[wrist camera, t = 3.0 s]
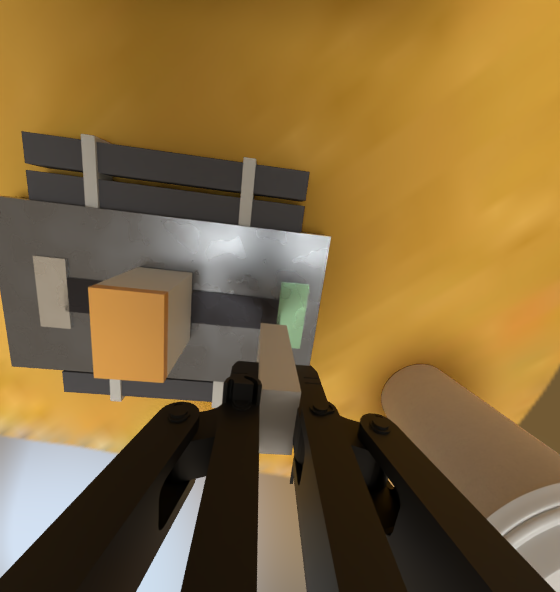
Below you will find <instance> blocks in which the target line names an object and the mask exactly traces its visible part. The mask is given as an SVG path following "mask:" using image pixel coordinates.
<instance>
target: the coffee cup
mask: <svg viewBox="0 0 560 592" xmlns="http://www.w3.org/2000/svg"><path fill="white" fill-rule="evenodd" d="M381 403H382V407H383V410H384V412H385V414H386V416H387V418H388V419H390V420H391V421H392V422H394V423H395V424H396V425H397V426H398V427H399V428H400V429H401V430H402V431H403V432H404V433H405V434H406V436H407V437H408V438H409V439H410V440H411V441H412V442H413V443H414V444H415V445H416V446H417V447H418V448H419V449H420V450H421V451H422V452H423V453H424V454H425V455H426V456H427V457H428V459H429V460H430V461H431V462H432V463H433V464H434V465H435V466H436V467H437V468H438V469H439V470H440V471H441V472H442V473H443V474H444V475H445V476H446V477H447V478H448V479H449V480H450V481H451V483H452V484H453V485H454V486H455V487H456V488H457V489H458V490H459V491H460V492H461V493H462V494H463V495H464V496H465V497H466V498H467V499H468V500H469V501H470V502H471V503H472V504H473V505H474V507H475V508H476V509H477V510H478V511H479V512H480V513H481V514H482V515H483V516H484V517H485V518H486V519H487V520H488V521H489V522H490V523H491V524H492V525H493V526H494V527H495V528H496V529H497V531H498V532H499V533H500V534H501V535H502V536H503V537H504V538H505V539H506V540H507V541H508V542H509V543H510V544H511V545H512V546H513V547H514V548H515V549H516V550H517V551H518V552H519V554H520V555H521V556H522V557H523V558H524V559H525V560H526V561H527V562H528V563H529V564H530V565H531V566H532V567H533V568H534V569H535V570H536V571H537V572H538V573H539V574H540V575H541V576H542V578H543V579H544V580H545V581H546V582H547V583H548V584H549V585H550V586H551V587H552V588H553V589H554V590H555V591H556V592H560V454H558V453H556V452H555V451H554V450H552V449H551V448H550V447H548V446H547V445H545V444H544V443H542V442H541V441H540V440H538V439H537V438H535V437H534V436H532V435H531V434H529V433H528V432H527V431H525V430H524V429H522V428H521V427H520V426H518V425H517V424H515V423H514V422H513V421H511V420H510V419H508V418H507V417H506V416H504V415H503V414H501V413H500V412H498V411H497V410H496V409H494V408H493V407H491V406H490V405H489V404H487V403H486V402H484V401H483V400H481V399H480V398H479V397H477V396H476V395H474V394H473V393H472V392H470V391H469V390H467V389H466V388H465V387H463V386H462V385H460V384H459V383H457V382H456V381H455V380H453V379H452V378H450V377H449V376H448V375H446V374H445V373H443V372H442V371H441V370H439V369H437V368H436V367H433V366H430V365H425V364H416V365H411V366H408V367H405V368H403V369H401V370H399V371H398V372H396V373H395V374H394V375H393V376H392V377H391V378H390V379H389V380H388V381H387V383H386V384H385V386H384V388H383V391H382V395H381Z"/></svg>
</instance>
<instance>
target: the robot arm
mask: <svg viewBox="0 0 560 592" xmlns="http://www.w3.org/2000/svg"><path fill="white" fill-rule="evenodd" d="M293 447H294V459H293V465H292V472H291V478H290V484H293V480H294V484H295V492H296V502H297V510H298V519H299V528H300V537H301V545H302V553H303V562H304V571H305V580H306V589H307V592H556V591H555V590H554V589H553V588H552V587H551V586H550V585H549V584H548V583H547V582H546V581H545V580H544V579H543V578H542V576H541V575H540V574H539V573H538V572H537V571H536V570H535V569H534V568H533V567H532V566H531V565H530V564H529V563H528V562H527V561H526V560H525V559H524V558H523V557H522V556H521V555H520V554H519V552H518V551H517V550H516V549H515V548H514V547H513V546H512V545H511V544H510V543H509V542H508V541H507V540H506V539H505V538H504V537H503V536H502V535H501V534H500V533H499V532H498V531H497V529H496V528H495V527H494V526H493V525H492V524H491V523H490V522H489V521H488V520H487V519H486V518H485V517H484V516H483V515H482V514H481V513H480V512H479V511H478V510H477V509H476V508H475V507H474V505H473V504H472V503H471V502H470V501H469V500H468V499H467V498H466V497H465V496H464V495H463V494H462V493H461V492H460V491H459V490H458V489H457V488H456V487H455V486H454V485H453V484H452V483H451V481H450V480H449V479H448V478H447V477H446V476H445V475H444V474H443V473H442V472H441V471H440V470H439V469H438V468H437V467H436V466H435V465H434V464H433V463H432V462H431V461H430V460H429V459H428V457H427V456H426V455H425V454H424V453H423V452H422V451H421V450H420V449H419V448H418V447H417V446H416V445H415V444H414V443H413V442H412V441H411V440H410V439H409V438H408V437H407V436H406V434H405V433H404V432H403V431H402V430H401V429H400V428H399V427H398V426H397V425H396V424H395V423H394V422H392V421H391V420H390V419H388V418H386V417H384V416H382V415H379V414H365V415H363V416H362V417H361V419H360V422H356V421H353V420H350V419H347V418H344V417H342V416H340V415H339V413H338V410H337V409H336V407H335V406H334V405H333V404H331V403H330V402H328V401H327V399H326V396H325V393H324V390H323V387H322V385H321V382H320V379H319V376H318V373H317V371H316V370H315V369H314V368H313V367H312V366H307V365H295V361H294V357H293V352H292V348H291V343H290V339H289V334H288V330H287V325H277V324H267V323H261V327H260V336H259V345H258V354H257V362H248V361H237V362H236V363H235V364H234V365H233V366H232V370H231V374H230V377H228V378H226V380H225V382H224V390H223V403H222V404H221V405H220V406H218V407H217V408H215V409H212V410H208V411H203V412H199V409H198V408H197V407H196V406H195V405H194V404H191V403H189V402H176V403H172V404H169V405H166V406H165V407H163V408H162V409H161V410H160V411H159V412H158V413H157V414H156V415H155V416H154V417H153V418H152V419H151V420H150V421H149V422H148V423H147V424H146V425H145V426H144V427H143V429H142V430H141V431H140V432H139V433H138V434H137V435H136V436H135V437H134V438H133V439H132V440H131V441H130V442H129V443H128V444H127V445H126V446H125V447H124V449H123V450H122V451H121V452H120V453H119V454H118V455H117V456H116V457H115V458H114V459H113V460H112V461H111V462H110V463H109V464H108V465H107V466H106V468H105V469H104V470H103V471H102V472H101V473H100V474H99V475H98V476H97V477H96V478H95V479H94V480H93V481H92V482H91V483H90V484H89V485H88V486H87V487H86V489H85V490H84V491H83V492H82V493H81V494H80V495H79V496H78V497H77V498H76V499H75V500H74V501H73V502H72V503H71V504H70V505H69V507H67V508H66V510H65V511H64V512H63V513H62V514H61V515H60V516H59V517H58V518H57V519H56V520H55V521H54V522H53V523H52V524H51V525H50V526H49V527H48V528H47V530H46V531H45V532H44V533H43V534H42V535H41V536H40V537H39V538H38V539H37V540H36V541H35V542H34V543H33V544H32V545H31V546H30V547H29V549H28V550H27V551H26V552H25V553H24V554H23V555H22V556H21V557H20V558H19V559H18V560H17V561H16V562H15V564H13V565H12V566H11V568H10V569H9V570H8V571H7V572H6V573H5V574H4V575H3V576H2V577H1V578H0V592H136V591H137V588H138V587H139V585H140V583H141V581H142V580H143V578H144V576H145V574H146V572H147V570H148V568H149V567H150V565H151V563H152V561H153V559H154V557H155V556H156V553H157V552H158V550H159V548H160V546H161V544H162V542H163V541H164V539H165V537H166V535H167V533H168V531H169V529H170V528H171V526H172V524H173V522H174V520H175V519H176V517H177V515H178V513H179V511H180V509H181V507H182V506H183V503H184V502H185V500H186V498H187V496H188V494H189V493H190V491H191V489H192V487H193V485H194V483H195V480H196V478H200V477H204V476H206V480H205V484H204V489H203V494H202V498H201V502H200V507H199V512H198V516H197V520H196V525H195V529H194V534H193V538H192V543H191V547H190V552H189V557H188V561H187V566H186V570H185V575H184V580H183V584H182V589H181V592H257V539H258V533H257V532H258V478H259V477H258V476H259V453H264V454H283V455H291V454H292V448H293ZM388 478H389V480H390V481H391V482H392V484H393V485H394V486H395V487H393V486H392V485H391V484H390V482H389V481H388Z"/></svg>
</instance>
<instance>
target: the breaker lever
mask: <svg viewBox="0 0 560 592" xmlns="http://www.w3.org/2000/svg"><path fill="white" fill-rule="evenodd" d="M88 296H89V311H90V326H91V342H92V357H93V372H94V378H101V379H115V380H129V381H142V382H156V383H164V381H165V380H166V378H167V376H168V375H169V373H170V371H171V370H172V368H173V366H174V365H175V363H176V361H177V360H178V358H179V357H180V355H181V353H182V352H183V350H184V348H185V347H186V345H187V343H188V342H189V340H190V324H191V297H192V273H190V272H181V271H171V270H162V269H153V268H143V267H137V268H134V269H132V270H129V271H127V272H124V273H122V274H119V275H117V276H115V277H112V278H110V279H107V280H105V281H102V282H100V283H97V284H95V285H92V286H90V287H88Z"/></svg>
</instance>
